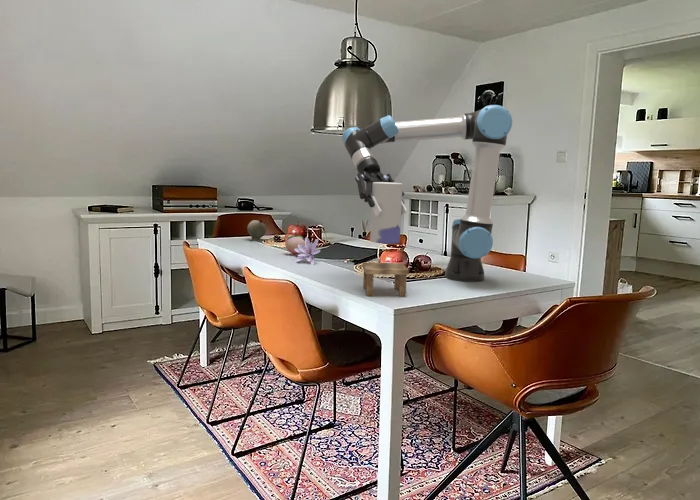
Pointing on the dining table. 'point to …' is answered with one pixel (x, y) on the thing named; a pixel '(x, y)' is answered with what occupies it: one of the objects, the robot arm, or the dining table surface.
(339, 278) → the dining table surface
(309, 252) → the water lily
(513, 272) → the dining table surface
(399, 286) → the stool
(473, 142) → the robot arm
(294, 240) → the decorative fruit
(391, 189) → the container
